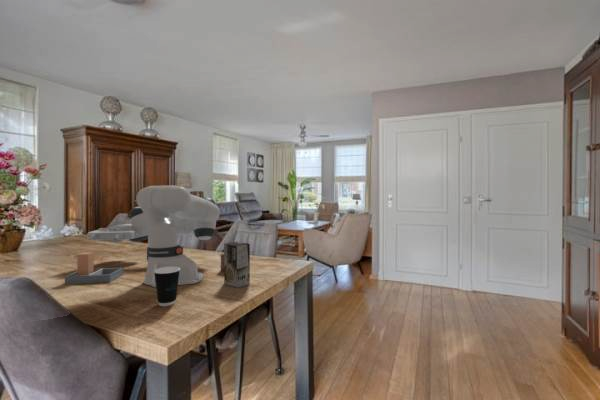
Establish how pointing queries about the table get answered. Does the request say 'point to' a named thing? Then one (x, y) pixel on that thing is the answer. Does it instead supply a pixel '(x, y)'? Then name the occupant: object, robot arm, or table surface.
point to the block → (85, 263)
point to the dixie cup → (166, 284)
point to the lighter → (222, 261)
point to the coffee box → (237, 264)
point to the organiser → (95, 276)
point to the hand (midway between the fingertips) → (103, 237)
